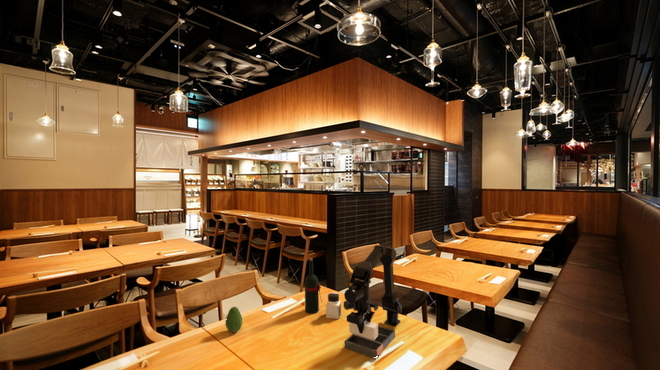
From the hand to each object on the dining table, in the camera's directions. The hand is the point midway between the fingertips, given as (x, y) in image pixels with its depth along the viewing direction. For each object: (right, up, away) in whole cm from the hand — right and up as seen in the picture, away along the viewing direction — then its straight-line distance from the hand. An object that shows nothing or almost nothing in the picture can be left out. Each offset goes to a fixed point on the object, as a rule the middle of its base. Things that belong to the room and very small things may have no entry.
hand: (363, 331), depth 125 cm
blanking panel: (0, -1, 0) cm, 1 cm away
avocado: (-62, -9, +17) cm, 65 cm away
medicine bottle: (-13, -8, +33) cm, 36 cm away
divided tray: (+4, -8, +5) cm, 10 cm away
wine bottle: (-24, -9, +39) cm, 47 cm away
